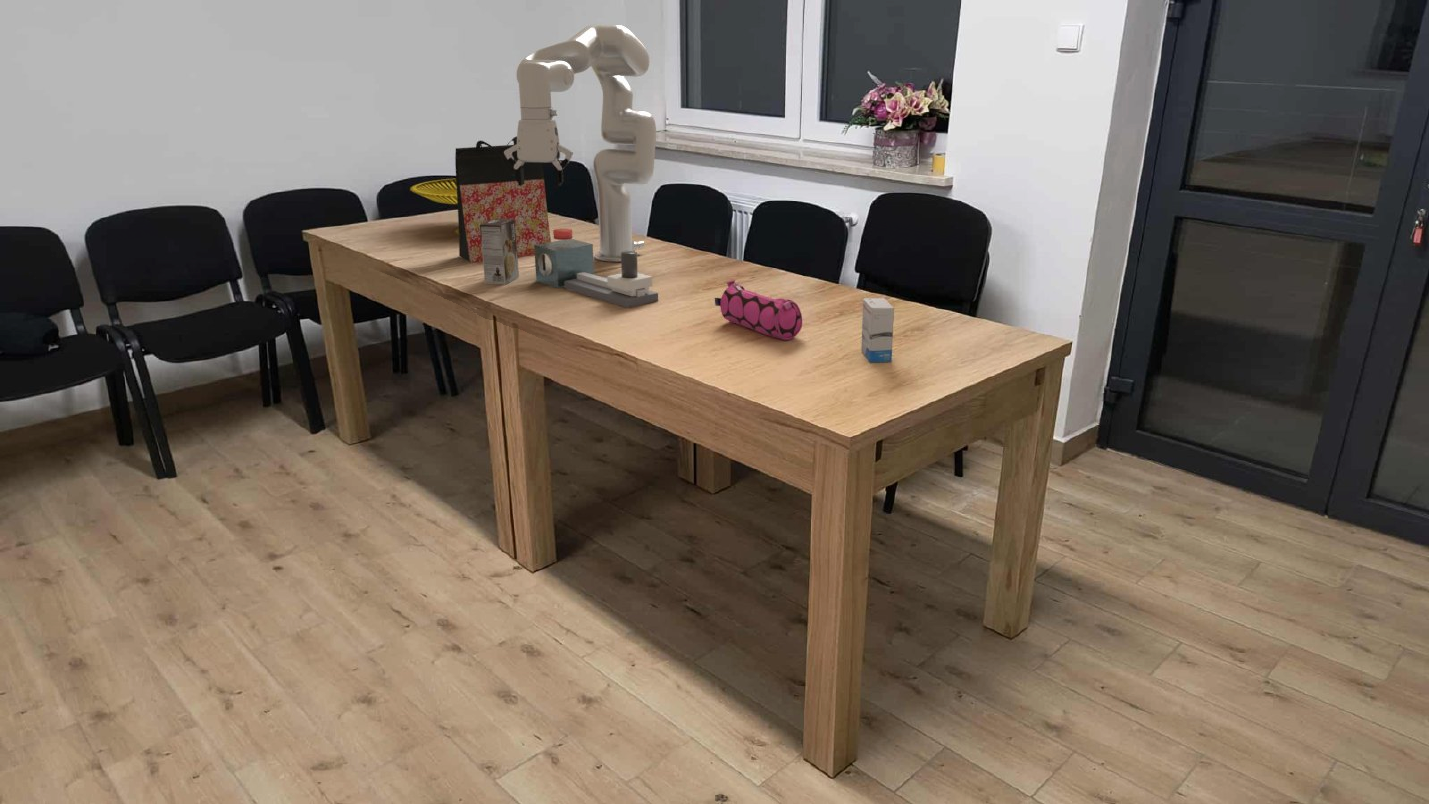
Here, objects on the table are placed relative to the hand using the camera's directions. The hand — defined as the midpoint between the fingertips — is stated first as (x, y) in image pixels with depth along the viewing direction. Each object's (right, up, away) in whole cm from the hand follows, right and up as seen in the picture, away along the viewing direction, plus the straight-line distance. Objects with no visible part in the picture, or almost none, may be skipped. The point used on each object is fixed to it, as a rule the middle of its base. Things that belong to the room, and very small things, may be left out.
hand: (540, 185), depth 247 cm
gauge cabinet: (+3, -22, +20) cm, 29 cm away
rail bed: (+17, -27, +7) cm, 32 cm away
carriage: (+23, -27, +1) cm, 35 cm away
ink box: (+78, -45, -39) cm, 98 cm away
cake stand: (-36, +3, +82) cm, 90 cm away
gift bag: (-17, -10, +50) cm, 54 cm away
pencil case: (+54, -38, -22) cm, 70 cm away
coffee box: (-14, -22, +20) cm, 33 cm away
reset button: (+3, -11, +15) cm, 19 cm away
